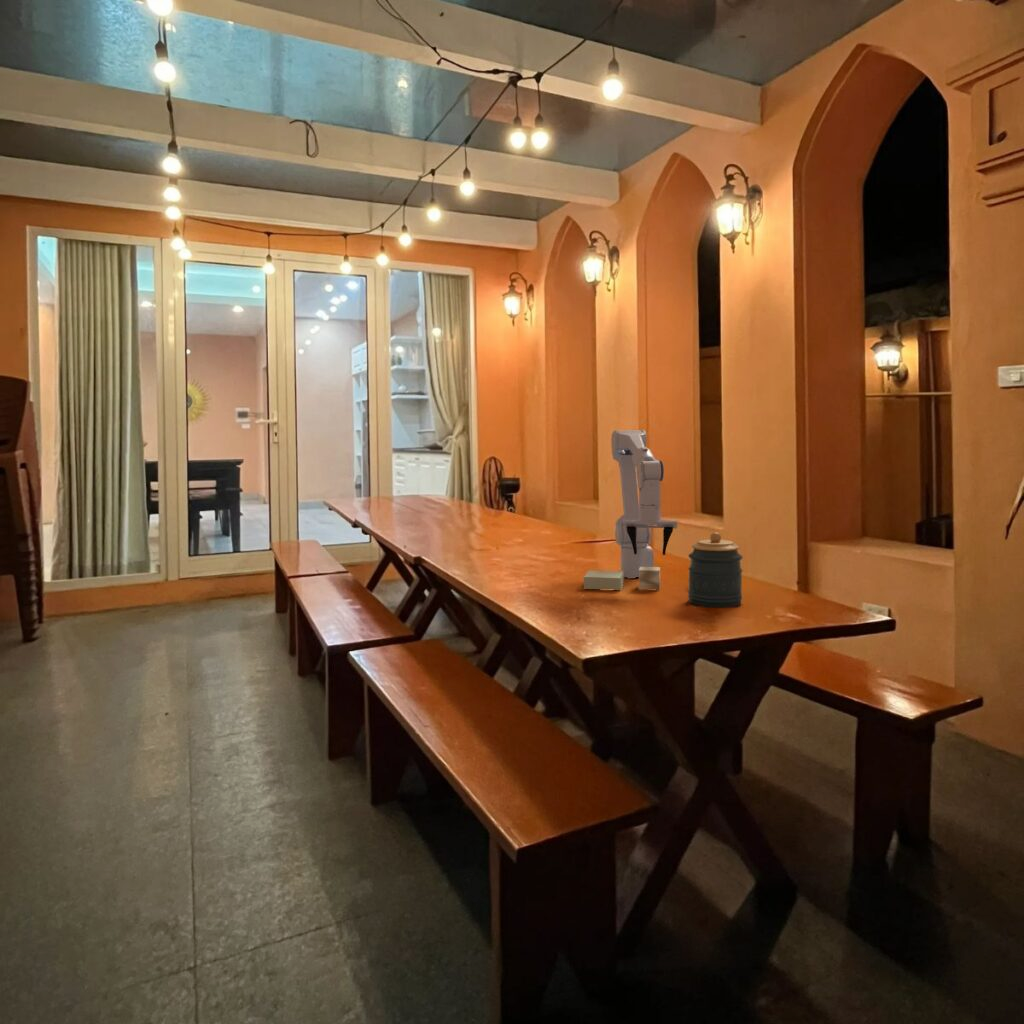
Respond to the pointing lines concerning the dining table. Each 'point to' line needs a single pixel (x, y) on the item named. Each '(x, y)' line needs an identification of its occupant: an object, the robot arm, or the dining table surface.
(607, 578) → the sage pedestal
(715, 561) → the canister
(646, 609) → the dining table surface
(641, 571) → the cream cube
